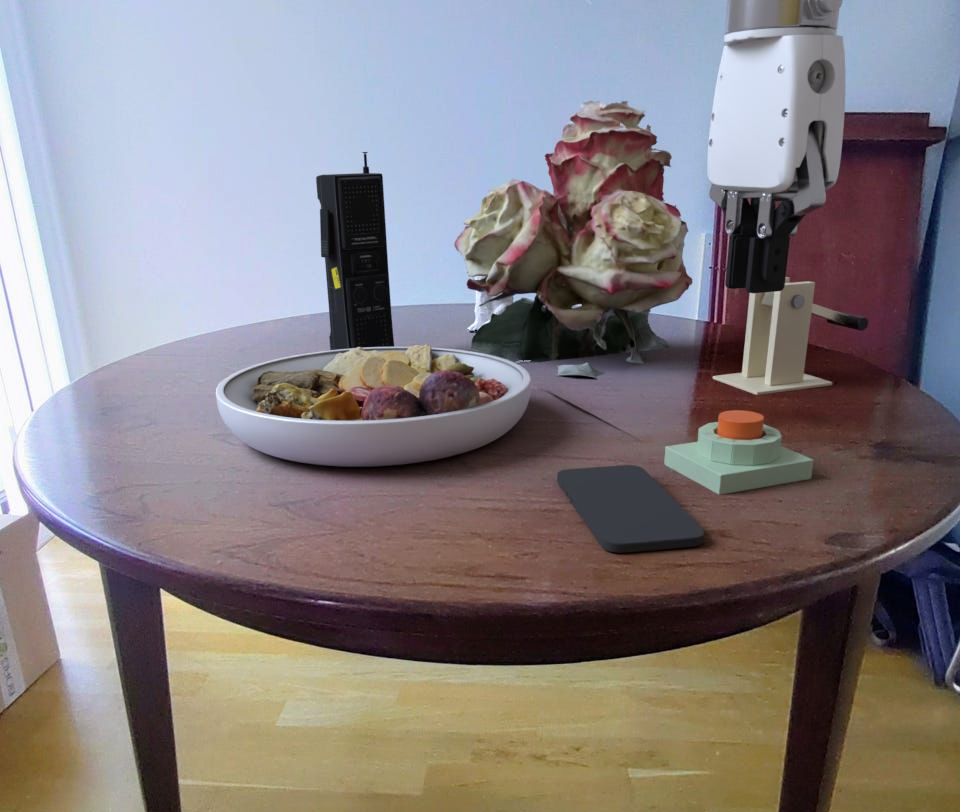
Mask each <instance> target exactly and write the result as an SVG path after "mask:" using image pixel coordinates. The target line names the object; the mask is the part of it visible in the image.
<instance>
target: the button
mask: <svg viewBox="0 0 960 812" xmlns="http://www.w3.org/2000/svg"><path fill="white" fill-rule="evenodd" d="M717 422H718V429H717V435H719V436H721V437H724V438H729V439H735V440H753V439H760V438H762V433H763V424H764V425H765V416H764V415H763V414H761V413H759V412H755V411H751V410H743V409H741V410H740V409H739V410H738V409H734V410H726V411H722V412H720V413H719V414H718V420H717Z"/></svg>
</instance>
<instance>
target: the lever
mask: <svg viewBox="0 0 960 812" xmlns="http://www.w3.org/2000/svg"><path fill="white" fill-rule="evenodd" d="M773 299H774V292H765V294H764V297H763V300H762V302H761V305H764V306H767V307H770V308H773ZM811 315H814V316H816V317H818V318H819V317H820V318H823V319H825V320H826V322H827V323H828V324H831V325H835V326H839V327H843V328H847V329H851V330H857V331H861V332H863V331H865V330H867V328H868V326H869V320H868V319H869V318H867V317H864V316H859V315H855V314H850V313H846V312H842V311H837V310H833V309H832V308H831V309H830V308H828V307H824V306H822V305H819V304H816V303H813V304H812V312H811Z"/></svg>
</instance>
